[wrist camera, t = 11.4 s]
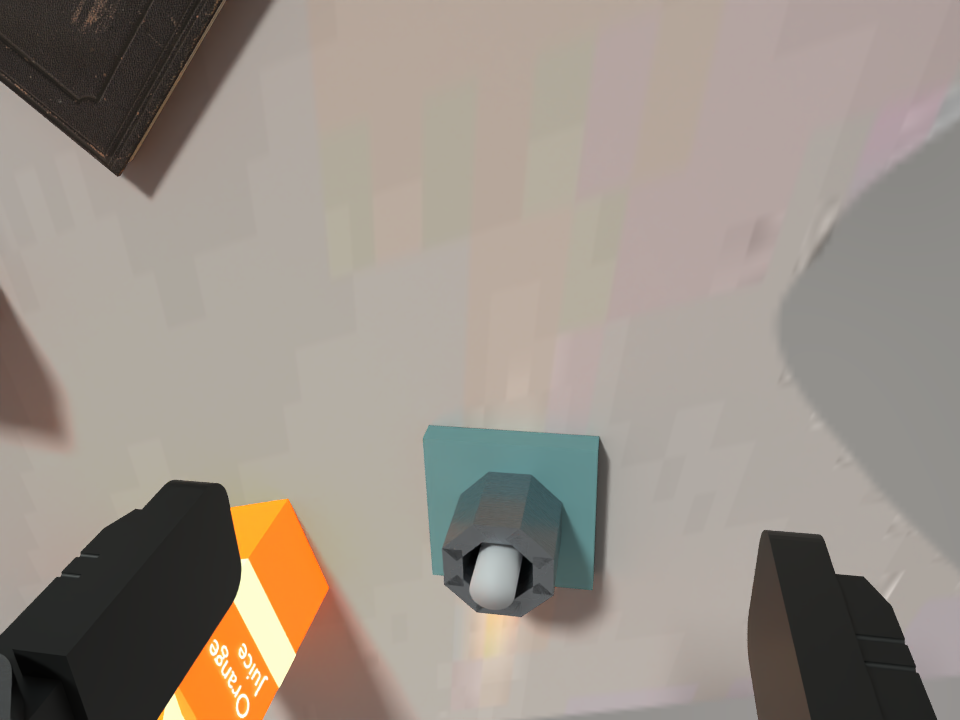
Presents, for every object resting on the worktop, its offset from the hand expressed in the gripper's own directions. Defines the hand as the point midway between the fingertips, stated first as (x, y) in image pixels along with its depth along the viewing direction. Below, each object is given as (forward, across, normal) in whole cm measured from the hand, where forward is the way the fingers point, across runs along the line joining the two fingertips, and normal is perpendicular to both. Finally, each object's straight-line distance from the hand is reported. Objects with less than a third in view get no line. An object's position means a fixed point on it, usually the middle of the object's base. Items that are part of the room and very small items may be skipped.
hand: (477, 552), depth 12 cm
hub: (+29, +4, +21) cm, 36 cm away
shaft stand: (+30, +4, +21) cm, 37 cm away
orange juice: (+30, +22, +27) cm, 46 cm away
